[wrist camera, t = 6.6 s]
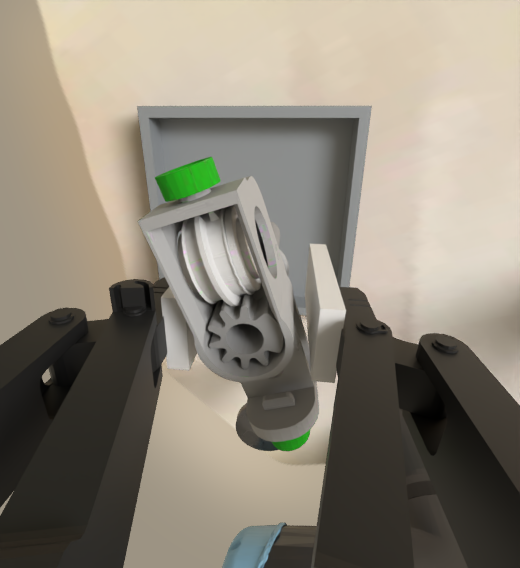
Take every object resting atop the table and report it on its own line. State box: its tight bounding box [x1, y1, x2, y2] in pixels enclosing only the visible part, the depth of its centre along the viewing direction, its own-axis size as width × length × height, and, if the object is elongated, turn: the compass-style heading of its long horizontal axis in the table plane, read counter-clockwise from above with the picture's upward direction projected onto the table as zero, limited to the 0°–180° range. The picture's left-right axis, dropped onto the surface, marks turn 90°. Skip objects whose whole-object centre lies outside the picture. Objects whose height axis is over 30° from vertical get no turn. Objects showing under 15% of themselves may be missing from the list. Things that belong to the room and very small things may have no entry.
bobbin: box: [236, 403, 279, 451], centre depth 33 cm, size 5×5×12 cm
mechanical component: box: [138, 157, 319, 451], centre depth 14 cm, size 3×10×10 cm, turn 17°
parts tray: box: [137, 106, 372, 315], centre depth 31 cm, size 18×18×3 cm
